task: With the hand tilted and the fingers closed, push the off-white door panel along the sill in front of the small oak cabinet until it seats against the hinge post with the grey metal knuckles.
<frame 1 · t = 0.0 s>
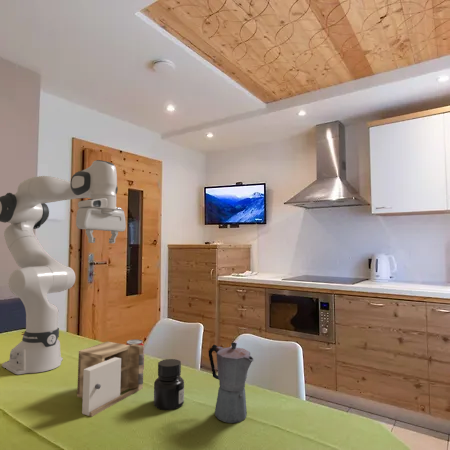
hand: (102, 243, 120), 48 cm above the table, tool pointing down, fingers open, 8 cm apart
moka pot: (229, 416, 93), on the table
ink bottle: (168, 404, 99), on the table
door: (103, 384, 98), point 6 cm above the table, slide at -7.0 cm
soda can: (133, 375, 122), on the table
cabinet: (103, 392, 107), on the table
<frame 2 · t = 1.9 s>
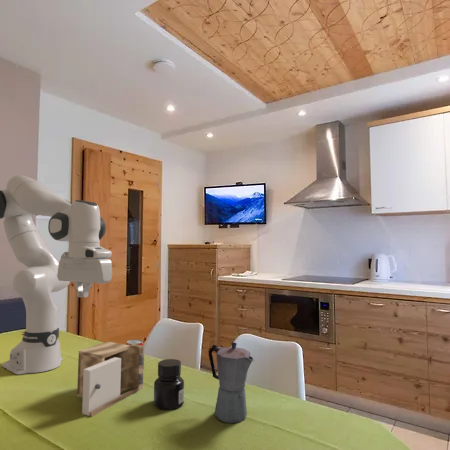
hand: (82, 297, 103), 31 cm above the table, tool pointing down, fingers closed
nothing on the table moved.
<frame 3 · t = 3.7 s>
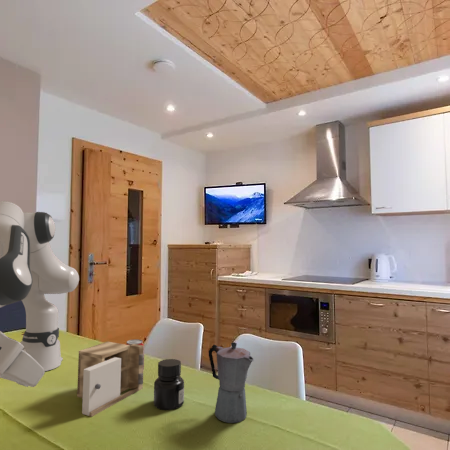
hand: (26, 382, 78), 15 cm above the table, tool tilted 45°, fingers closed
nothing on the table moved.
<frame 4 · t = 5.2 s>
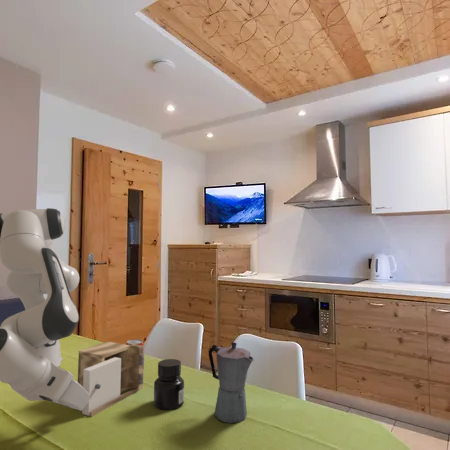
hand: (71, 404, 88), 5 cm above the table, tool tilted 45°, fingers closed
nothing on the table moved.
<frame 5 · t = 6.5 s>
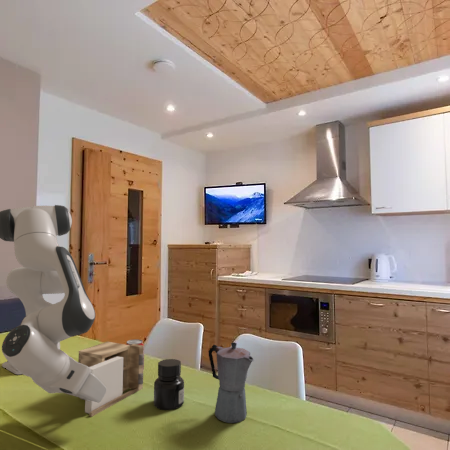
hand: (87, 397, 93), 5 cm above the table, tool tilted 45°, fingers closed, pressing on door
door: (106, 383, 99), point 6 cm above the table, slide at -6.0 cm, touching gripper
everything else where it was.
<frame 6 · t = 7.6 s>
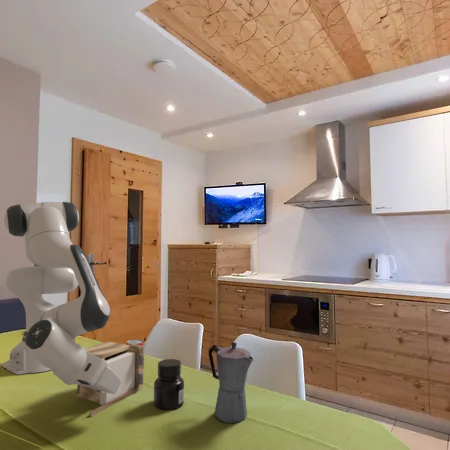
hand: (101, 389, 98), 5 cm above the table, tool tilted 45°, fingers closed, pressing on door
door: (119, 377, 104), point 6 cm above the table, slide at -0.6 cm, touching gripper
everything else where it was.
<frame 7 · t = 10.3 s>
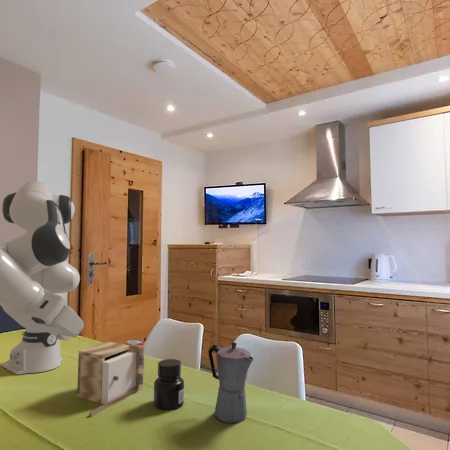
hand: (65, 337, 87), 23 cm above the table, tool tilted 45°, fingers closed
door: (120, 376, 104), point 6 cm above the table, slide at -0.1 cm
everything else where it was.
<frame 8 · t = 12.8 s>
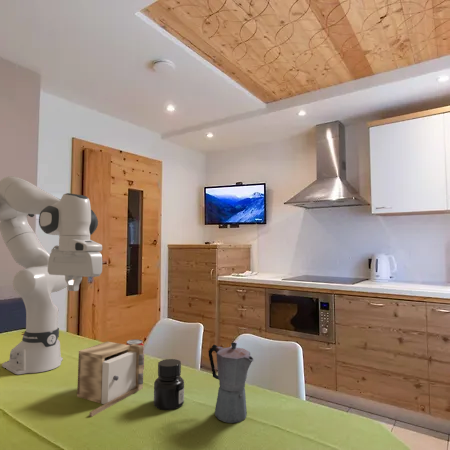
hand: (73, 290, 102), 33 cm above the table, tool pointing down, fingers closed
nothing on the table moved.
at the end: door slide at -0.1 cm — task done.
